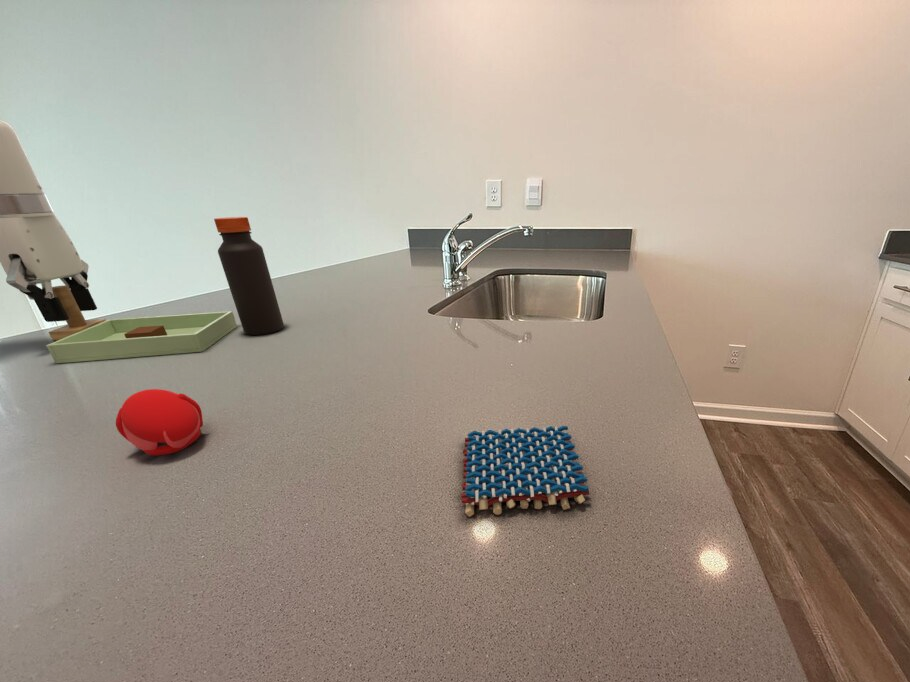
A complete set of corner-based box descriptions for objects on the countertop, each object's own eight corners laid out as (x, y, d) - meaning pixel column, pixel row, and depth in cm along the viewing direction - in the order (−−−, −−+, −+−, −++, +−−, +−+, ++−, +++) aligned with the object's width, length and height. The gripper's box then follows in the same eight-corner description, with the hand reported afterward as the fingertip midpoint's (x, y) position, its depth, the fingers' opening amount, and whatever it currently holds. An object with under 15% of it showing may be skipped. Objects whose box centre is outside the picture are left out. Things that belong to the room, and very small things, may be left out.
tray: (55, 363, 65) (45, 345, 63) (116, 335, 77) (108, 319, 76) (202, 351, 68) (195, 334, 67) (237, 326, 81) (232, 311, 79)
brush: (85, 344, 73) (57, 290, 69) (56, 346, 72) (26, 292, 68) (111, 332, 79) (87, 282, 75) (85, 334, 78) (59, 283, 74)
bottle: (272, 335, 75) (238, 218, 66) (236, 336, 75) (197, 219, 66) (291, 324, 81) (261, 216, 72) (257, 325, 81) (224, 217, 72)
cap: (226, 435, 44) (206, 385, 42) (167, 467, 39) (140, 413, 37) (179, 422, 47) (158, 375, 44) (118, 450, 42) (90, 399, 39)
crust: (128, 345, 70) (123, 334, 69) (143, 337, 74) (138, 327, 73) (154, 343, 71) (150, 332, 70) (167, 335, 74) (163, 325, 73)
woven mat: (464, 444, 42) (462, 427, 41) (566, 438, 42) (567, 421, 41) (459, 518, 32) (458, 499, 31) (591, 509, 33) (593, 489, 32)
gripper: (36, 206, 73) (84, 304, 81) (-68, 210, 57) (4, 332, 65) (84, 204, 74) (127, 302, 82) (-5, 208, 59) (59, 328, 66)
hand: (72, 314), depth 73 cm, fingers open, 6 cm apart
